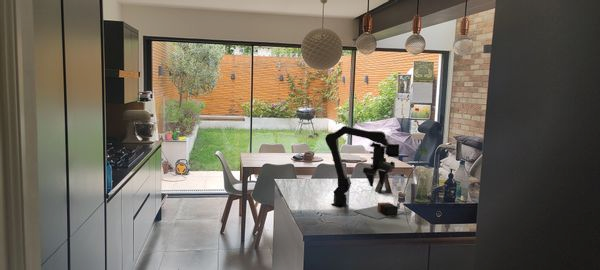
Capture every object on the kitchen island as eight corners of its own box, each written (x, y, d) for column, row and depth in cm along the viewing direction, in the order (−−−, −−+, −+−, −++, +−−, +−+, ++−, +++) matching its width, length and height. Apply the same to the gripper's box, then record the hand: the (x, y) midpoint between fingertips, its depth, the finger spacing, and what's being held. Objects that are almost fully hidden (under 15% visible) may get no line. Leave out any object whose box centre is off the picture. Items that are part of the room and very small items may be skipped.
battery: (385, 216, 213) (376, 210, 222) (397, 215, 215) (388, 209, 224) (386, 207, 212) (376, 202, 222) (398, 206, 214) (388, 201, 224)
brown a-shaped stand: (378, 193, 263) (379, 173, 262) (374, 190, 269) (375, 171, 268) (392, 193, 265) (393, 174, 264) (388, 190, 271) (389, 172, 269)
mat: (353, 211, 220) (353, 210, 220) (378, 206, 233) (378, 205, 232) (377, 219, 208) (377, 218, 208) (403, 213, 220) (403, 212, 220)
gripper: (382, 159, 210) (379, 190, 212) (401, 156, 224) (399, 186, 225) (363, 156, 218) (361, 186, 220) (383, 153, 231) (381, 182, 233)
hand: (376, 185), depth 224 cm, fingers open, 9 cm apart
